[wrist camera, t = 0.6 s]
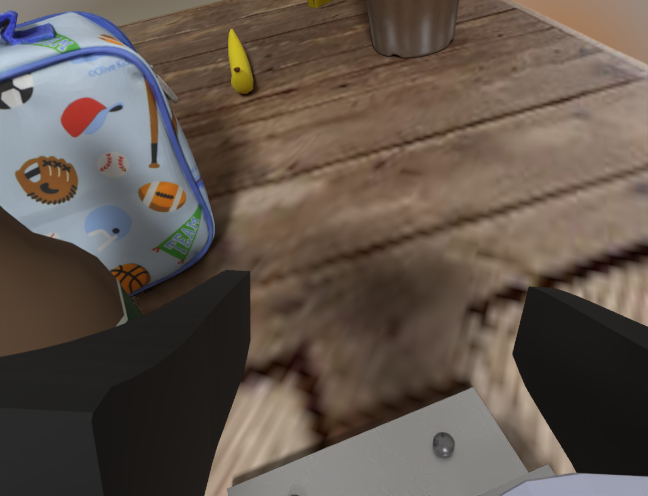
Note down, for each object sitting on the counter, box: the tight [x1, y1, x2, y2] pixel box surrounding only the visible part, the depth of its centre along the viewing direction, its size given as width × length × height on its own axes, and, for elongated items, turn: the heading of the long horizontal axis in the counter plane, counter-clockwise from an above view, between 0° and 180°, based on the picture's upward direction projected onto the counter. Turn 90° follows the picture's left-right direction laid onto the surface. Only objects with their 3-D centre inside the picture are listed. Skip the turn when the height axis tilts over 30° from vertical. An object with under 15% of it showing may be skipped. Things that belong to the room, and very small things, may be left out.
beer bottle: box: [0, 205, 143, 357], centre depth 22 cm, size 8×8×24 cm
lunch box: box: [0, 11, 215, 297], centre depth 33 cm, size 28×10×22 cm, turn 121°
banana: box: [228, 29, 253, 94], centre depth 63 cm, size 3×19×6 cm, turn 12°
